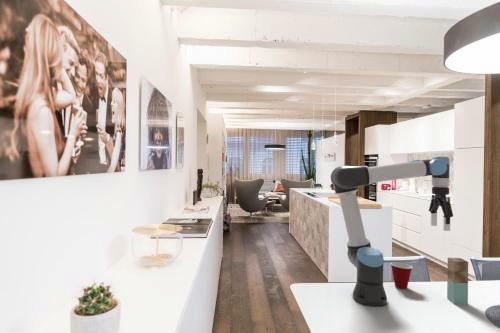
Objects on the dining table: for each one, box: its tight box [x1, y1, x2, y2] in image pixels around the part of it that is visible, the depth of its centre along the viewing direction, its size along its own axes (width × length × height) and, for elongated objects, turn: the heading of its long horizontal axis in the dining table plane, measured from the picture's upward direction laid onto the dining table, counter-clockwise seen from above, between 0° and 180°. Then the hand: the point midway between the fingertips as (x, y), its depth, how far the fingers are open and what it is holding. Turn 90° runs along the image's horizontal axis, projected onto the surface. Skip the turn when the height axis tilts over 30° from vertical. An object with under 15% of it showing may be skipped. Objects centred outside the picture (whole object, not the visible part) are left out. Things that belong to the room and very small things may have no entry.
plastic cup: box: [390, 262, 414, 290], centre depth 161 cm, size 11×11×12 cm
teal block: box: [446, 277, 469, 306], centre depth 143 cm, size 6×6×10 cm
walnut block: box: [446, 257, 469, 285], centre depth 143 cm, size 6×6×10 cm
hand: (440, 228), depth 155 cm, fingers open, 13 cm apart
